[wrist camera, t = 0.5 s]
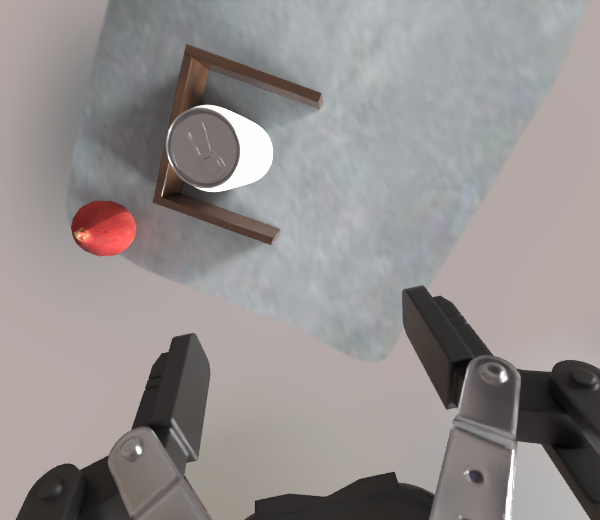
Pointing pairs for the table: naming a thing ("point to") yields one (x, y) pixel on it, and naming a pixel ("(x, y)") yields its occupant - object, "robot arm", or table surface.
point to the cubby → (192, 96)
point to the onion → (103, 228)
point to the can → (217, 148)
